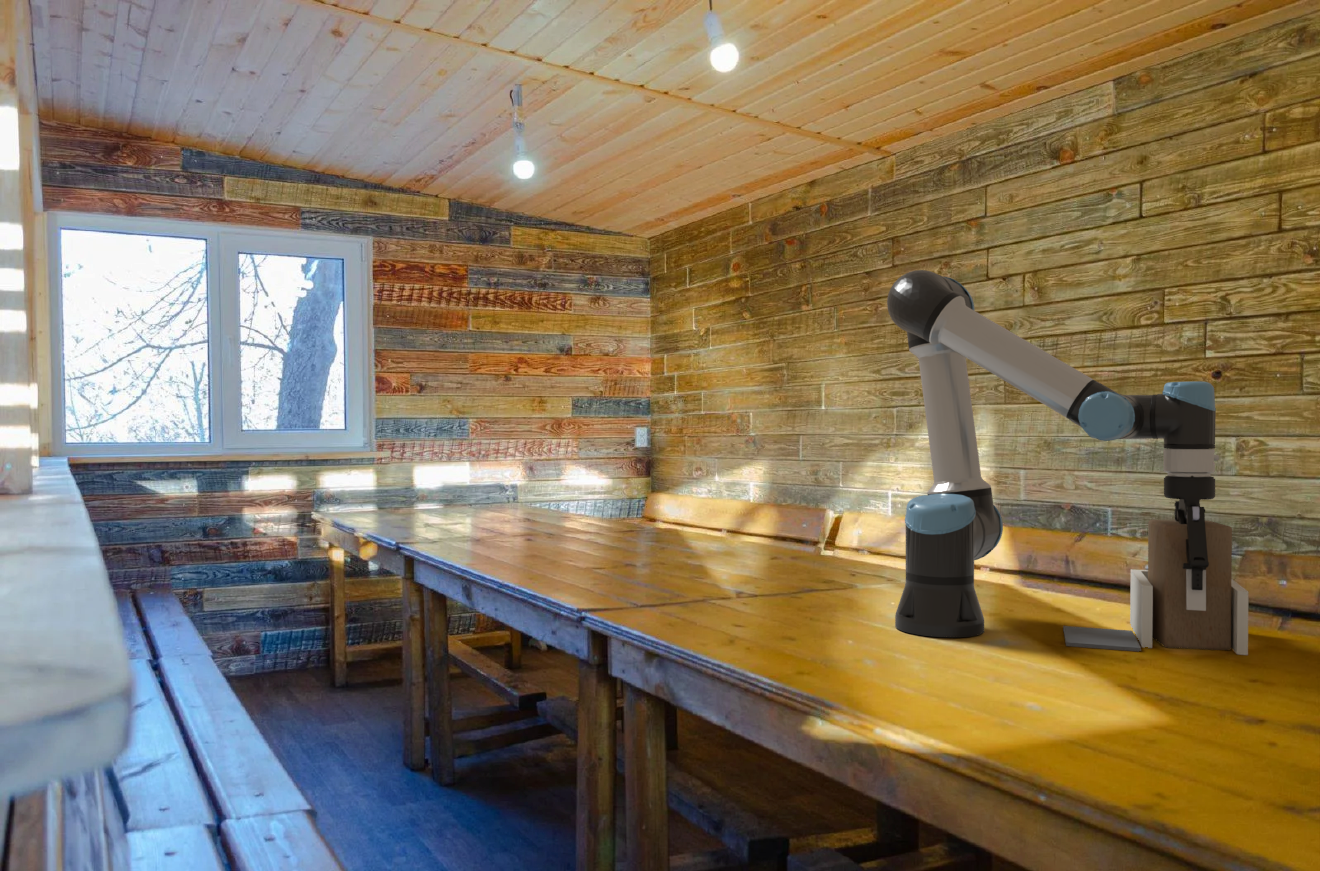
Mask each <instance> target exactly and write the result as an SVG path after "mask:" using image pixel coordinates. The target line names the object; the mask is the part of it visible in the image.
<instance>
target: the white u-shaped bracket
mask: <svg viewBox="0 0 1320 871" xmlns="http://www.w3.org/2000/svg"><path fill="white" fill-rule="evenodd" d="M1129 589H1130V596H1129V597H1130V603H1129V604H1130V608H1129V609H1130V611H1129V612H1130V613H1129V618H1130V619H1129V625H1130V624H1131V625H1130V627H1131V629H1132V628H1133V629H1132V631H1133V633H1134V632H1135V633H1134V635H1135V634H1136V635H1135V637H1136V639H1137V638H1138V639H1137V641H1138V640H1139V641H1138V643H1139V645H1140V647H1141V648H1145V647H1148V648H1147V649H1153V638H1152V617H1153V586H1152V585H1151V583H1150V582H1149V581H1148V569H1147V570H1146V569H1135V568H1134V569H1130V588H1129ZM1230 649H1231V650H1232V651H1233V652H1234V653H1235V654H1236V655H1241V656H1249V591H1248V590H1247V589H1246V588H1244V587H1243V586H1242V585H1240V584H1239V583H1238V582H1237V581H1235V580H1234V579H1233V578H1232V579H1231V648H1230Z"/></svg>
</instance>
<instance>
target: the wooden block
mask: <svg viewBox="0 0 1320 871" xmlns="http://www.w3.org/2000/svg"><path fill="white" fill-rule="evenodd" d="M1147 524H1148V527H1147V528H1148V529H1147V533H1148V534H1147V542H1148V543H1147V570H1148V581H1149V582H1150V583H1151V585H1152V586H1153V617H1152V640H1154V641H1155V642H1157V643H1159V644H1160V645H1161V646H1163V647H1164V648H1167V649H1168V648H1169V649H1185V650H1186V649H1188V650H1190V649H1191V650H1211V651H1230V650H1231V649H1232V648H1231V579H1232V580H1233V576H1232V574H1233V573H1232V570H1233V569H1232V568H1233V566H1232V565H1233V564H1232V563H1233V562H1232V561H1233V560H1232V558H1233V557H1232V556H1233V555H1232V554H1233V553H1232V552H1233V551H1232V550H1233V546H1232V545H1233V529H1232V526H1229V525H1228V524H1227V525H1226V524H1223V523H1219V522H1215V521H1211V520H1205V530H1206V542H1207V554H1208V562H1209V566H1208V567H1207V568H1206V611H1200V610H1187V609H1186V569H1183V563H1187V555H1186V539H1188V534H1187V524H1180V523H1179V521H1175V519H1155V518H1154V519H1149V520H1148V523H1147Z"/></svg>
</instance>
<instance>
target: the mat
mask: <svg viewBox="0 0 1320 871" xmlns="http://www.w3.org/2000/svg"><path fill="white" fill-rule="evenodd" d="M1062 628H1063V636H1064V641H1065V646H1066V647H1074V648H1075V647H1076V648H1087V649H1088V648H1089V649H1102V650H1115V651H1125V652H1126V651H1127V652H1139V651H1141V652H1142V649H1141V648H1142V646H1141V644H1140V642H1139V641H1138V639H1137V637H1136V635H1135V633H1134V631H1133V630H1125V629H1114V628H1113V629H1112V628H1100V627H1099V628H1098V627H1086V626H1085V627H1084V626H1068V625H1063V626H1062Z"/></svg>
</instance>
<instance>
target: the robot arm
mask: <svg viewBox="0 0 1320 871" xmlns="http://www.w3.org/2000/svg"><path fill="white" fill-rule="evenodd" d="M974 303H975V302H974V299H973V297H972V295H971V294H970V292H969V291H968V289H967V288H966V287H965V286H964V285H962V283H961V282H959V281H958V280H956V279H954V278H952V277H948V276H944V275H943V276H942V275H940V274H938V273H936V272H933V271H930V270H926V269H917V270H911V271H908V272H906V273H905V274H902V275H900V277H898V278H897V280H895V282H894V283H893V284H892V285H891V287H890V289H889V291H888V295H887V301H886V304H887V305H886V307H887V312H888V315H889V317H890V319H891V320H892V321H893V323H894V324H895V325H896V326H897V327H898V328H899V329H901V330H902V331H905V332H906V336H907V345H908V350H909V352H910V353H911V354H912V355H913V356H915V357H916V358H917V359H918V365H919V373H920V381H921V388H922V395H923V396H922V397H923V404H924V406H923V407H924V413H925V420H926V429H927V436H928V444H929V450H930V459H931V460H930V461H931V467H932V476H933V484H932V486H931V487H930V488H928V491H927V492H926V494H927V495H925V494H923V495H919V496H915V497H913V498H911V499H910V500H909V501H908V502H907V504H906V510H905V512H906V513H905V515H904V523H905V583H904V587H903V590H902V594H901V597H900V598H899V599H900V600H899V602H898V606H897V609H896V611H895V615H894V616H895V617H894V618H895V619H894V624H895V625H894V626H895V628H896V629H897V630H900V631H901V632H904V633H908V634H911V635H918V636H924V637H935V638H968V637H969V638H970V637H976V636H980V635H983V633H985V618H984V614H983V612H982V608H981V605H980V601H979V598H978V595H977V593H976V589H975V561H977V560H980V559H982V558H984V557H986V556H987V555H988V554H990V553H992V551H993V550H994V549H995V548H996V547H997V546H998V544H999V543H1000V541H1001V539H1002V535H1003V531H1004V523H1003V518H1002V516H1001V515H1002V514H1001V513H1000V511H999V509H998V508H997V507H996V505H994V499H993V492H992V486H991V484H990V483H988V482H987V481H985V480H984V478H983V477H982V473H981V465H980V464H981V463H980V457H979V450H978V441H977V434H976V426H975V419H974V410H973V403H972V396H971V389H970V388H971V387H970V382H969V374H968V373H969V372H968V366H967V360H970V362H973V363H974V364H976V365H977V366H979V367H981V369H982V368H983V369H984V370H986V371H987V372H989V373H991V374H992V375H994V376H996V377H998V378H999V379H1000V380H1003V381H1004V382H1006V383H1008V384H1009V385H1010V386H1012V387H1014V388H1016V389H1017V390H1019V391H1021V392H1023V393H1024V394H1026V395H1027V396H1029V397H1031V398H1033V399H1034V400H1035V401H1038V402H1040V403H1041V404H1043V405H1045V407H1048V408H1050V409H1051V410H1053V411H1054V412H1056V413H1058V414H1059V415H1061V416H1063V417H1064V418H1066V419H1067V420H1069V421H1071V422H1072V423H1074V424H1075V425H1077V426H1079V427H1080V428H1081V429H1083V431H1084V432H1085V433H1086V434H1087V435H1088V437H1090V438H1092V439H1096V440H1099V441H1103V442H1104V441H1105V442H1107V441H1116V440H1137V439H1138V440H1140V439H1145V440H1146V439H1147V440H1148V439H1150V440H1151V439H1153V440H1158V439H1163V450H1162V451H1163V454H1162V455H1163V466H1162V467H1163V472H1164V473H1166V475H1165V476H1164V477H1163V497H1165V498H1166V499H1171V500H1172V499H1173V500H1175V502H1174V507H1175V508H1174V511H1173V513H1174V520H1175V521H1179V523H1180V524H1187V534H1188V539H1186V555H1187V563H1183V569H1186V609H1187V610H1200V611H1206V568H1207V567H1208V566H1209V562H1208V554H1207V542H1206V530H1205V521H1206V518H1205V517H1206V515H1205V514H1206V509H1205V506H1201V503H1200V502H1201V500H1203V501H1205V500H1207V501H1208V500H1213V499H1215V497H1216V478H1215V477H1214V476H1212V474H1214V473H1215V472H1216V463H1215V461H1219V460H1220V455H1218V454H1216V452H1215V451H1216V450H1215V449H1216V419H1217V418H1216V415H1217V414H1216V411H1217V409H1216V400H1215V399H1216V398H1215V396H1216V395H1215V388H1214V386H1213V385H1212V383H1211V382H1208V381H1201V380H1200V381H1193V380H1192V381H1172V382H1171V381H1170V382H1166V383H1165V384H1164V386H1163V390H1162V393H1157V394H1121V393H1118V392H1116V391H1114V390H1113V389H1112V388H1109V387H1108V386H1106V385H1104V384H1102V383H1101V382H1099V381H1096V380H1095V379H1093V378H1092V377H1090V376H1089V375H1086V374H1085V373H1083V372H1081V371H1079V370H1078V369H1076V368H1075V367H1073V366H1071V365H1070V364H1068V363H1066V362H1064V361H1062V360H1061V359H1059V358H1057V357H1055V356H1053V355H1052V354H1050V353H1048V352H1047V351H1045V350H1043V349H1042V348H1040V347H1038V346H1037V345H1035V344H1033V343H1031V342H1029V341H1028V340H1026V339H1024V338H1022V337H1021V336H1019V335H1017V334H1015V333H1014V332H1013V331H1010V330H1008V329H1007V328H1005V327H1004V326H1001V325H1000V324H998V323H996V322H995V321H993V320H991V319H989V318H987V317H986V316H984V315H982V314H981V313H979V312H978V311H976V310H975V304H974Z"/></svg>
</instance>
